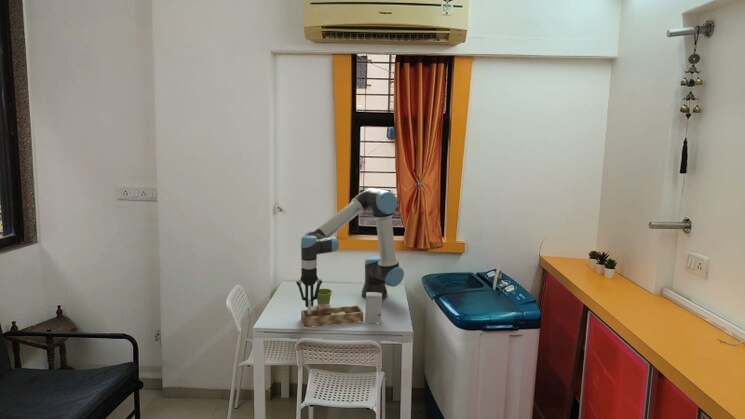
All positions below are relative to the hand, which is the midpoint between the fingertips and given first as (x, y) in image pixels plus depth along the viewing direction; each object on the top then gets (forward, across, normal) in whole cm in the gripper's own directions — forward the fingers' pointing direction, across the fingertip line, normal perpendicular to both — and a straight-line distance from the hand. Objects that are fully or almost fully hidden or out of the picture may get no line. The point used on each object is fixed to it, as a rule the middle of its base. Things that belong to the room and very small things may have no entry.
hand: (309, 312), depth 226 cm
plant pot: (+6, +10, +20) cm, 23 cm away
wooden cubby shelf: (+5, +12, 0) cm, 13 cm away
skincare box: (+6, +32, -6) cm, 33 cm away
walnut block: (+2, +8, 0) cm, 8 cm away
